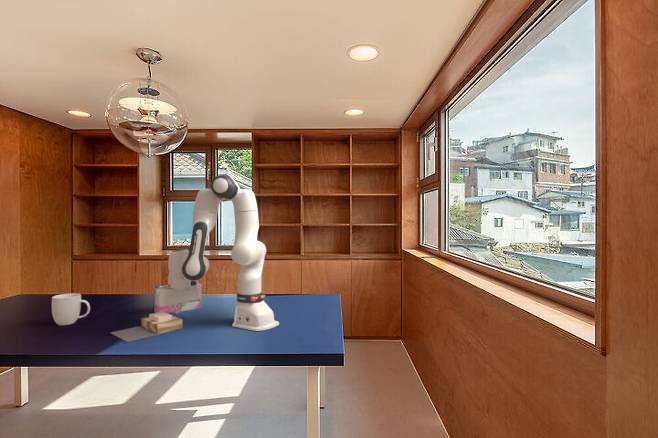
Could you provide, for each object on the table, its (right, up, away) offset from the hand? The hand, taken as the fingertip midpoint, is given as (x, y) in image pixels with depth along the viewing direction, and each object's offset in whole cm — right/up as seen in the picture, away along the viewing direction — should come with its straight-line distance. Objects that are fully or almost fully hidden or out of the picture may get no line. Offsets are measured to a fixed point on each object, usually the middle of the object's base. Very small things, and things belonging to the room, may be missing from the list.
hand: (178, 312), depth 163 cm
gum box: (-11, -6, +25) cm, 27 cm away
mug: (-51, -5, 0) cm, 52 cm away
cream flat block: (-5, -1, -6) cm, 8 cm away
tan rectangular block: (-5, -5, -6) cm, 9 cm away
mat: (-12, -5, -15) cm, 20 cm away
